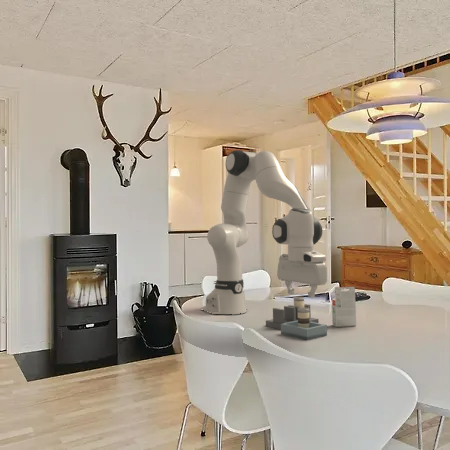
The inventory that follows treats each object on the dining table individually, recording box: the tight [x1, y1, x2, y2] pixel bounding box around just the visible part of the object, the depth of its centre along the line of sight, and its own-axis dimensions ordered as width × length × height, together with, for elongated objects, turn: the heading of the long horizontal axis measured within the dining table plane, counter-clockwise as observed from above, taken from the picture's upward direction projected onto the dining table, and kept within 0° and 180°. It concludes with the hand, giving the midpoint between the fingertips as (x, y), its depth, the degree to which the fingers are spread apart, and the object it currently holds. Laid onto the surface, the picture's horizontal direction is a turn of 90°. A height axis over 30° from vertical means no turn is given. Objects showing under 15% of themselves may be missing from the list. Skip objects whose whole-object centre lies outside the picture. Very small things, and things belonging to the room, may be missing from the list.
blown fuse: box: [298, 307, 310, 329], centre depth 159 cm, size 4×4×8 cm
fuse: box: [293, 296, 305, 307], centre depth 176 cm, size 4×4×8 cm
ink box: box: [331, 286, 357, 328], centre depth 171 cm, size 4×8×15 cm, turn 96°
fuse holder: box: [265, 303, 319, 330], centre depth 174 cm, size 12×16×7 cm
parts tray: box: [280, 320, 328, 341], centre depth 159 cm, size 12×10×4 cm
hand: (300, 295), depth 159 cm, fingers open, 8 cm apart
